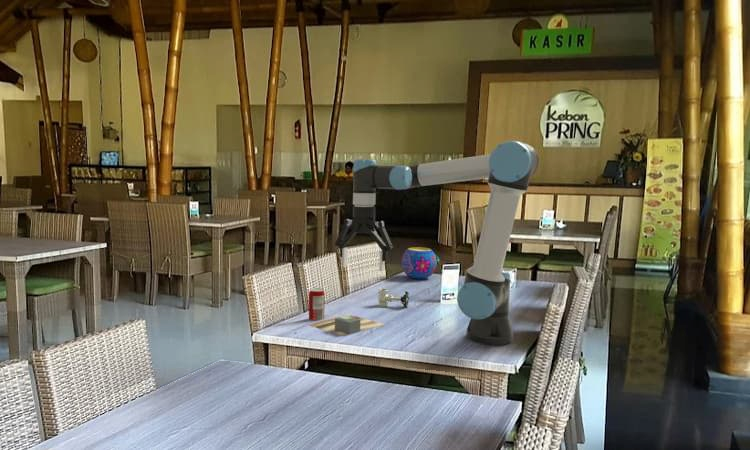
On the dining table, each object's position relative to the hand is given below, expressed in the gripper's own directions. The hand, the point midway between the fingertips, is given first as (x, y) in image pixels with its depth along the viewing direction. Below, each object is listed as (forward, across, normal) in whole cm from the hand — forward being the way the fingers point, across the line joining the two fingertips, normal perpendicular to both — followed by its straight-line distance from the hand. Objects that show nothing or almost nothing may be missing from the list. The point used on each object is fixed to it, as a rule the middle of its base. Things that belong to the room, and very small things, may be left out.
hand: (363, 268), depth 192 cm
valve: (+22, +3, -37) cm, 43 cm away
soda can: (+22, +19, -3) cm, 29 cm away
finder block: (+20, +3, +6) cm, 21 cm away
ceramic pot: (+22, +11, -97) cm, 100 cm away
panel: (+21, +6, -1) cm, 22 cm away
